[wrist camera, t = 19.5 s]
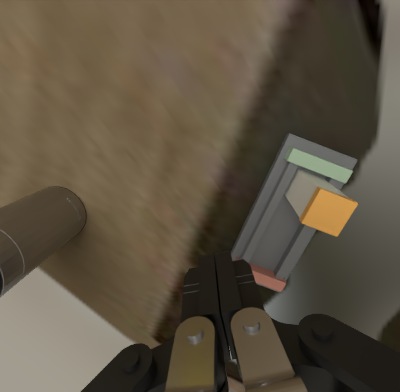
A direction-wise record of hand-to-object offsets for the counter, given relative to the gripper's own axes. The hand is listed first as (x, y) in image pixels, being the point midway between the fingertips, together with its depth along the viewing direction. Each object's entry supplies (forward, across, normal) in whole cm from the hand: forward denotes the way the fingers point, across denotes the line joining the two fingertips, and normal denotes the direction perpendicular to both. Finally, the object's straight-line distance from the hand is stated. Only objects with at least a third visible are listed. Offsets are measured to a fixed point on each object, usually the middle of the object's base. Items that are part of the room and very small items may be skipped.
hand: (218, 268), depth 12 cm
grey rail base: (+26, +10, -12) cm, 31 cm away
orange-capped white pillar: (+25, +13, -7) cm, 29 cm away
